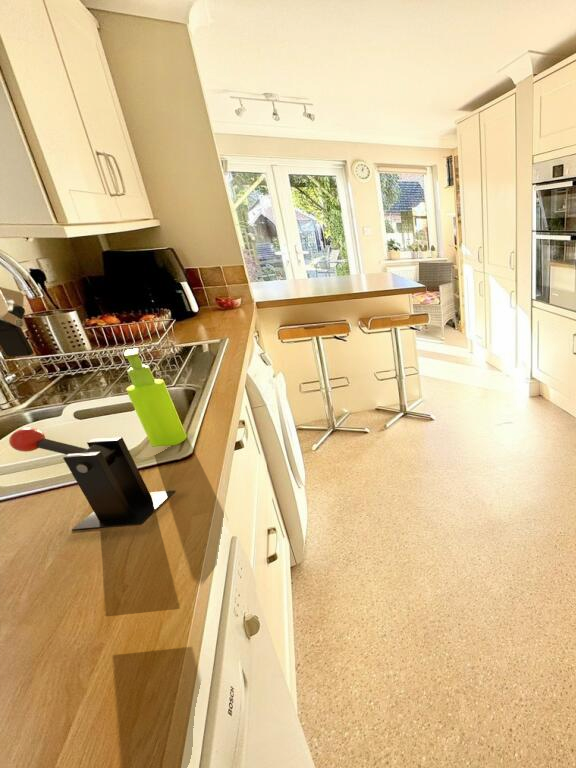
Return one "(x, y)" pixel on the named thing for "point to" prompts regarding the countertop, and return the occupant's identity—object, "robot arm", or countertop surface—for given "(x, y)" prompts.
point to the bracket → (113, 487)
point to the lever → (53, 444)
